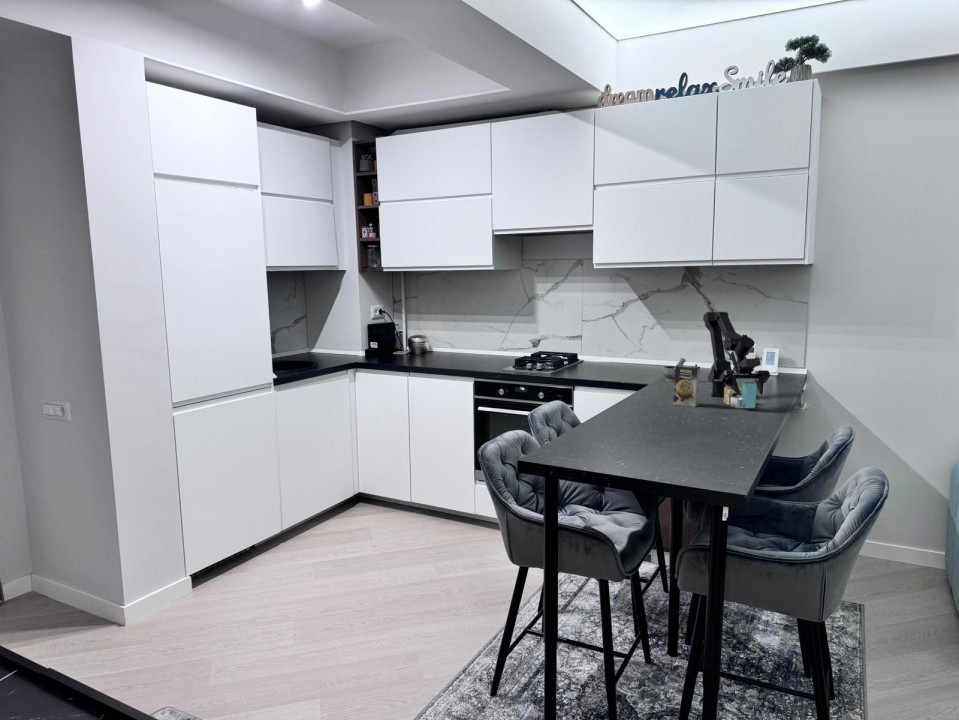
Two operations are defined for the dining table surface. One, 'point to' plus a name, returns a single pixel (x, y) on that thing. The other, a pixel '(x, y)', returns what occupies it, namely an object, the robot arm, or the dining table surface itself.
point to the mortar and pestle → (671, 371)
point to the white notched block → (735, 402)
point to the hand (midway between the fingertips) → (750, 393)
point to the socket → (730, 394)
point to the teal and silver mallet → (747, 395)
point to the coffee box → (686, 385)
